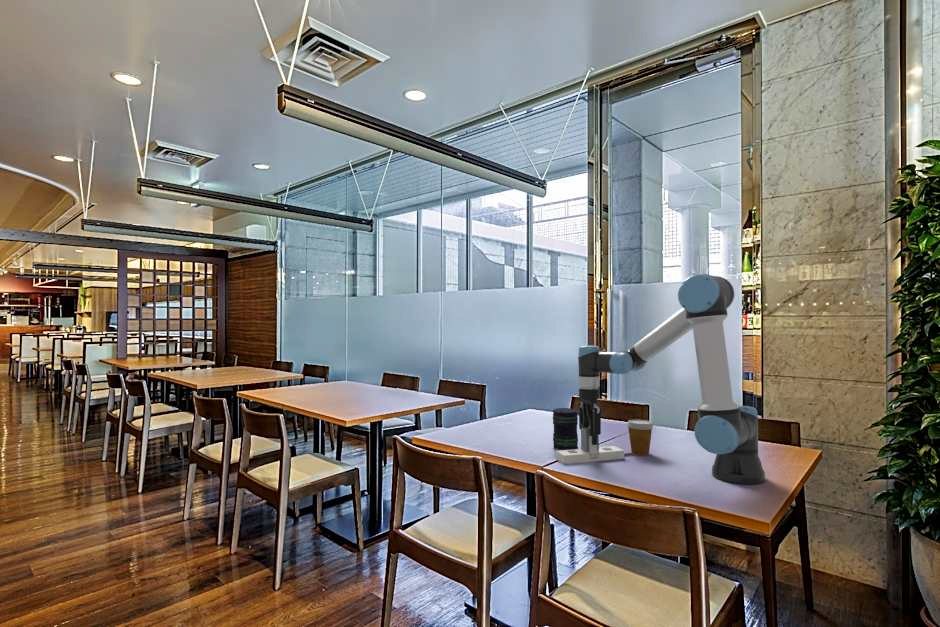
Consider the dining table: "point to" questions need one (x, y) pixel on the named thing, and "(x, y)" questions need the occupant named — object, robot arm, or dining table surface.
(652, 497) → the dining table surface
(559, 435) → the storage jar
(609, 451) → the power strip
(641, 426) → the disposable coffee cup
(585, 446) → the charger
